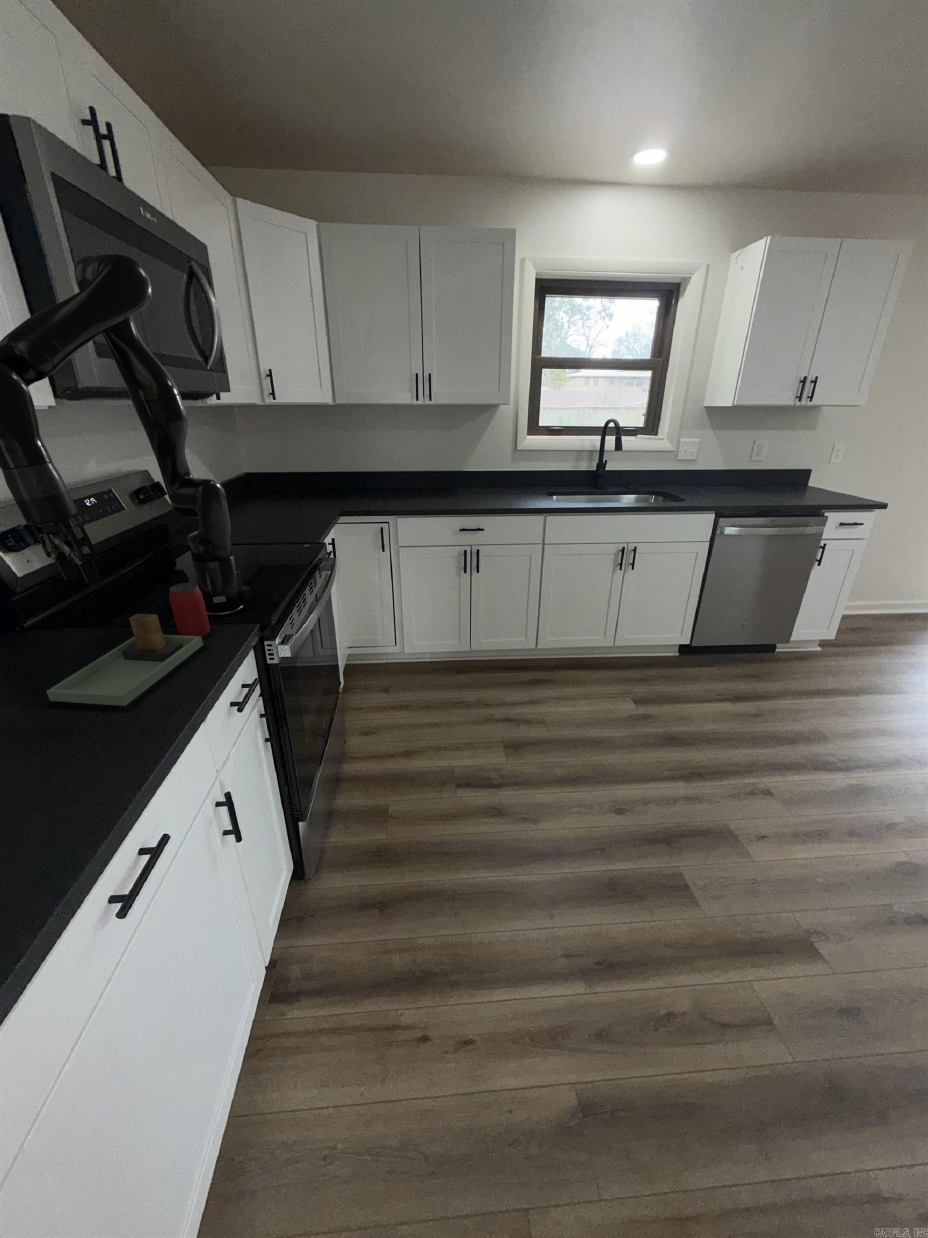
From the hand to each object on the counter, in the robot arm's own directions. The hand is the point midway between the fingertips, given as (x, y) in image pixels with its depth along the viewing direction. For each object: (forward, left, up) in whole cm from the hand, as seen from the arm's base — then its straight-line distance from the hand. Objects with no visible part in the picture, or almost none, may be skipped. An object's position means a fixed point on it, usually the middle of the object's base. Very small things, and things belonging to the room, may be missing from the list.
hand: (83, 580), depth 92 cm
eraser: (-7, +1, -19) cm, 20 cm away
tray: (-2, +4, -20) cm, 20 cm away
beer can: (-18, -4, -20) cm, 27 cm away
